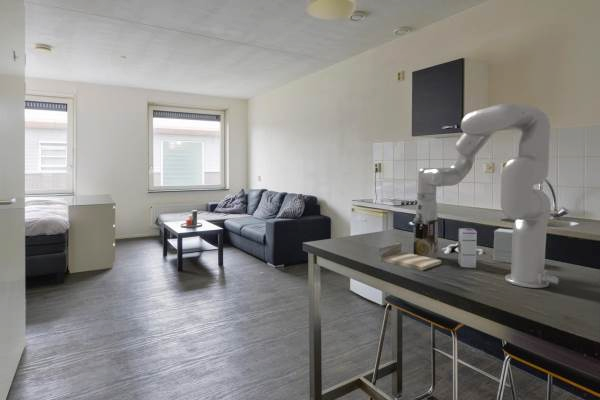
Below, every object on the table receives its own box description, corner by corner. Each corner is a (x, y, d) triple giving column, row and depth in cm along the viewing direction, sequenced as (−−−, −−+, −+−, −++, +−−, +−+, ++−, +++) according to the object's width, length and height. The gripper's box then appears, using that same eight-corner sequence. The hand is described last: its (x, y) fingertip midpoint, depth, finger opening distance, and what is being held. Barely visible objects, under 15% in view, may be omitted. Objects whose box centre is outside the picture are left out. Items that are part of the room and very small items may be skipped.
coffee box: (438, 256, 160) (439, 219, 159) (434, 260, 155) (435, 221, 153) (416, 254, 165) (417, 218, 164) (412, 257, 160) (413, 220, 158)
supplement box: (517, 260, 154) (519, 230, 152) (512, 263, 148) (514, 232, 147) (497, 257, 159) (499, 227, 157) (492, 260, 153) (493, 230, 152)
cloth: (456, 245, 183) (456, 233, 182) (492, 253, 168) (493, 239, 167) (426, 251, 171) (426, 238, 171) (463, 260, 156) (463, 246, 155)
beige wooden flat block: (441, 263, 149) (441, 250, 149) (421, 270, 140) (422, 256, 140) (397, 254, 165) (397, 242, 164) (377, 260, 156) (378, 247, 155)
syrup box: (476, 267, 143) (477, 230, 142) (460, 267, 144) (461, 230, 143) (472, 263, 149) (474, 228, 147) (457, 263, 150) (458, 227, 148)
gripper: (423, 199, 149) (422, 241, 151) (445, 196, 160) (443, 235, 162) (407, 197, 155) (406, 238, 157) (429, 195, 166) (428, 232, 168)
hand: (425, 236), depth 159 cm, fingers open, 9 cm apart
